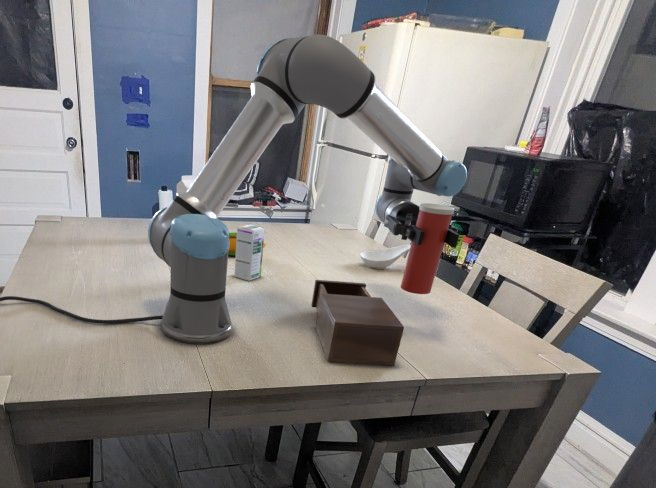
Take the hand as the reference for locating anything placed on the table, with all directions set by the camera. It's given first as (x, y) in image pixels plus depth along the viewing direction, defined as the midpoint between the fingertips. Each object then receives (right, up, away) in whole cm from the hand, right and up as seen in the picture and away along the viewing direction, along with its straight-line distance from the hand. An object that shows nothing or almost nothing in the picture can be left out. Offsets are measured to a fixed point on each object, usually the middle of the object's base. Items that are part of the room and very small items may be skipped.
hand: (438, 239), depth 100 cm
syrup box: (-38, +1, +42) cm, 57 cm away
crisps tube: (-1, -8, +10) cm, 13 cm away
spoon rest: (+11, +9, +64) cm, 65 cm away
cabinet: (-17, -22, +5) cm, 28 cm away
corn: (-41, +13, +63) cm, 76 cm away
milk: (-59, +21, +75) cm, 98 cm away
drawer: (-17, -14, +18) cm, 28 cm away
